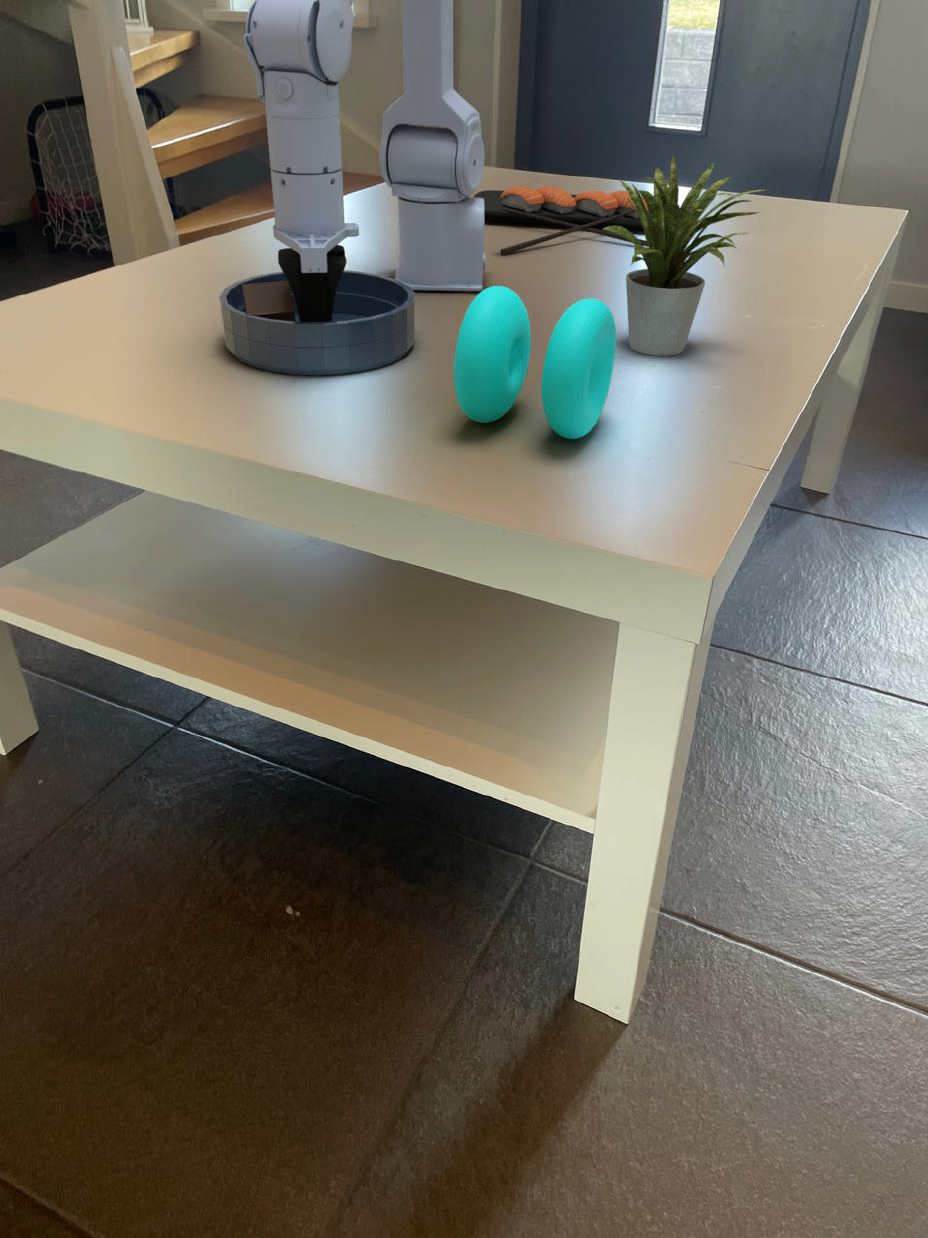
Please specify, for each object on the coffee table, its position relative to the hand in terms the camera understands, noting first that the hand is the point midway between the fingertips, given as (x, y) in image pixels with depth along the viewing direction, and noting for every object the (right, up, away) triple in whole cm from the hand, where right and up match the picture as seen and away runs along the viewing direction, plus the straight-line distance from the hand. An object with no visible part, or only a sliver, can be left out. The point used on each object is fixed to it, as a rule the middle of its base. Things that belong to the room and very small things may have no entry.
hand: (316, 335), depth 86 cm
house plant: (+31, 0, +4) cm, 31 cm away
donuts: (+18, -10, -11) cm, 24 cm away
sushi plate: (+27, +27, +44) cm, 58 cm away
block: (-4, +1, +1) cm, 4 cm away
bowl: (0, 0, +4) cm, 4 cm away
